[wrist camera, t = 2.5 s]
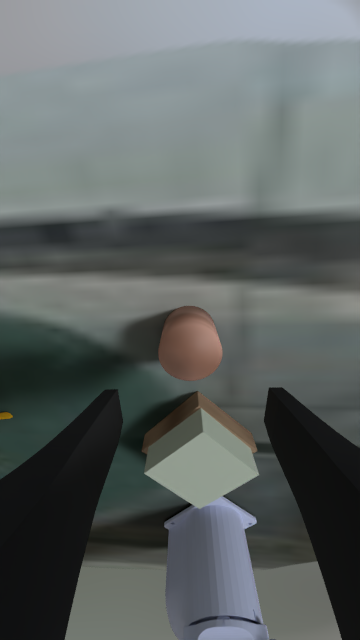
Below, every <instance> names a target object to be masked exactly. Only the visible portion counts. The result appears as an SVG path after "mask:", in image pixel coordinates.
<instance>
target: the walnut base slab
mask: <svg viewBox="0 0 360 640" xmlns="http://www.w3.org/2000/svg"><path fill="white" fill-rule="evenodd" d="M200 408H202V409H203V410H204V411H205V412H206V413H208V414H209V415H210V416H211V417H213V418H214V419H215V420H216V421H218V422H219V423H220V424H221V425H222V426H224V427H225V428H226V429H227V430H229V431H230V432H231V433H232V434H233V435H235V436H236V437H237V438H238V439H240V440H241V441H242V442H243V443H245V444H246V445H247V446H248V447H249V448H251V451H252V454H253V453H254V452H256V451H257V448H256V445H255V442H254V439H253V436H252V433H251V432H249V431H248V430H247V429H245V428H244V427H243V426H242V425H240V424H239V423H238V422H237V421H235V420H234V419H233V418H231V417H230V416H229V415H228V414H226V413H225V412H224V411H223V410H221V409H220V408H219V407H217V406H216V405H215V404H214V403H212V402H211V401H210V400H209V399H207V398H206V397H205V396H204V395H202V394H201V393H200V392H198V391H197V392H196V393H194V394H193V395H192V396H191V397H190V398H188V399H187V400H186V401H185V402H183V403H182V404H181V405H180V406H179V407H177V408H176V409H175V410H174V411H173V412H171V413H170V414H169V415H168V416H166V417H165V418H164V419H163V420H162V421H160V422H159V423H158V424H157V425H156V426H154V427H153V428H152V429H151V430H150V431H148V432H147V433H146V434H145V437H144V442H143V447H142V452H143V453H145V454H147V453H148V447H149V446H151V445H152V444H153V443H155V442H156V441H157V440H159V439H160V438H161V437H163V436H164V435H165V434H167V433H168V432H169V431H171V430H172V429H173V428H175V427H176V426H177V425H179V424H180V423H181V422H183V421H184V420H185V419H187V418H188V417H189V416H191V415H192V414H193V413H195V412H196V411H198V410H199V409H200Z"/></svg>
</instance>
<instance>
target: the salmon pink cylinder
mask: <svg viewBox="0 0 360 640" xmlns="http://www.w3.org/2000/svg"><path fill="white" fill-rule="evenodd" d="M158 356H159V361H160V363H161V365H162V367H163V368H164V369H165V371H166V372H168V373H169V374H170V375H172V376H173V377H175V378H178V379H181V380H186V381H194V380H199V379H203V378H205V377H207V376H209V375H210V374H212V373H213V372H214V371H215V370H216V369H217V367H218V366H219V364H220V362H221V359H222V346H221V343H220V340H219V337H218V334H217V331H216V328H215V325H214V322H213V320H212V318H211V316H210V315H209V314H208V313H207V312H206V311H204V310H203V309H201V308H198V307H195V306H184V307H180V308H178V309H176V310H174V311H173V312H171V313H170V314H169V316H168V317H167V318H166V320H165V323H164V327H163V331H162V336H161V340H160V345H159V350H158Z"/></svg>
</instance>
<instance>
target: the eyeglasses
mask: <svg viewBox="0 0 360 640" xmlns="http://www.w3.org/2000/svg"><path fill="white" fill-rule="evenodd" d="M12 417H13V416H12V415H11V414H10V413H8V412H3V413H0V419H9V418H12Z"/></svg>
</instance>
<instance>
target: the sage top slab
mask: <svg viewBox="0 0 360 640" xmlns="http://www.w3.org/2000/svg"><path fill="white" fill-rule="evenodd" d="M144 474H146V475H147V476H149V477H151V478H152V479H154V480H155V481H157V482H158V483H160V484H161V485H163V486H165V487H166V488H168V489H169V490H171V491H172V492H174V493H175V494H177V495H178V496H180V497H182V498H183V499H185V500H186V501H188V502H189V503H191V504H192V505H194V506H196V507H197V508H199V509H201V508H202V507H204V506H206V505H208V504H209V503H211V502H213V501H215V500H216V499H218V498H220V497H221V496H223V495H225V494H227V493H228V492H230V491H232V490H234V489H235V488H237V487H239V486H241V485H242V484H244V483H246V482H248V481H249V480H251V479H253V478H255V477H256V476H258V475H259V474H258V471H257V467H256V464H255V461H254V458H253V455H252V451H251V448H249V447H248V446H247V445H246V444H245V443H243V442H242V441H241V440H240V439H238V438H237V437H236V436H235V435H233V434H232V433H231V432H230V431H229V430H227V429H226V428H225V427H224V426H222V425H221V424H220V423H219V422H218V421H216V420H215V419H214V418H213V417H211V416H210V415H209V414H208V413H206V412H205V411H204V410H203V409H202V408H200V409H199V410H198V411H196V412H195V413H193V414H192V415H191V416H189V417H188V418H187V419H185V420H184V421H183V422H181V423H180V424H179V425H177V426H176V427H175V428H173V429H172V430H171V431H169V432H168V433H167V434H165V435H164V436H163V437H161V438H160V439H159V440H157V441H156V442H155V443H153V444H152V445H151V446H149V447H148V453H147V459H146V465H145V471H144Z"/></svg>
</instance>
